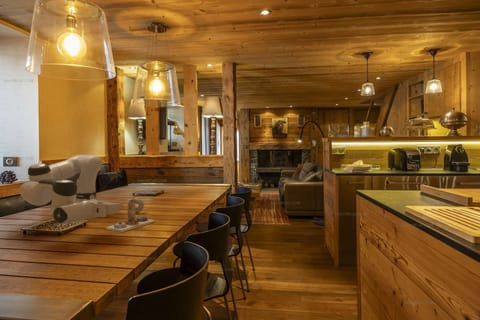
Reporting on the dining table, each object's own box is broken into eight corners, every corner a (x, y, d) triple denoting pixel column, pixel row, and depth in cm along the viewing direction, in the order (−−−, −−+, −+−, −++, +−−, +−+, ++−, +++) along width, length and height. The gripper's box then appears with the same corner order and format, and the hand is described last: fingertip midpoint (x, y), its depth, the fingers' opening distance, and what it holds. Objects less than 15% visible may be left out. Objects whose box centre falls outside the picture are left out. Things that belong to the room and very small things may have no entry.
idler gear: (122, 223, 163) (121, 199, 162) (131, 221, 169) (131, 197, 169) (131, 225, 160) (131, 200, 159) (140, 222, 166) (140, 198, 166)
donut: (144, 212, 200) (143, 197, 199) (143, 213, 196) (143, 198, 196) (128, 212, 197) (128, 198, 197) (127, 214, 194) (127, 199, 193)
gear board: (106, 229, 156) (106, 222, 156) (139, 219, 178) (139, 213, 178) (122, 232, 151) (122, 225, 151) (154, 222, 173) (154, 215, 173)
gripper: (77, 212, 145) (100, 207, 158) (106, 217, 137) (128, 211, 149) (76, 200, 145) (100, 196, 158) (105, 204, 136) (128, 199, 149)
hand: (114, 203), depth 153 cm, fingers open, 8 cm apart
